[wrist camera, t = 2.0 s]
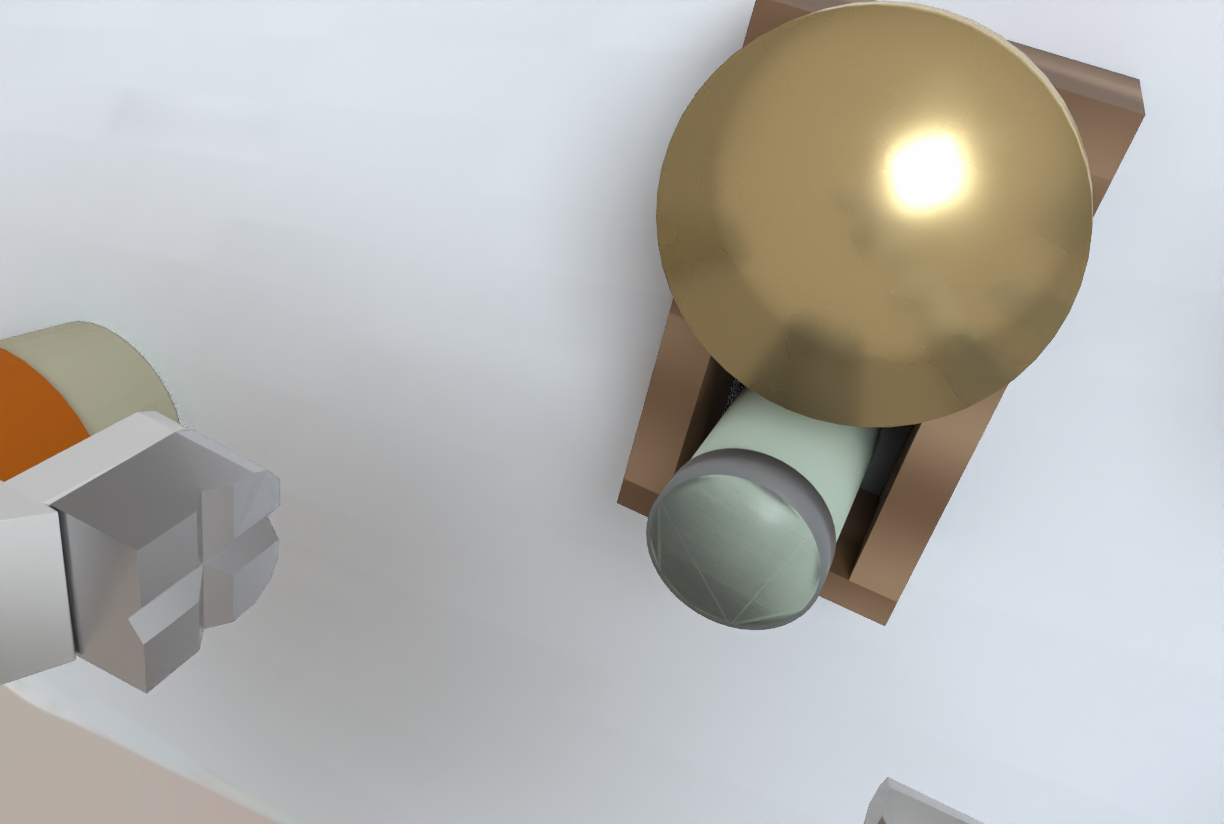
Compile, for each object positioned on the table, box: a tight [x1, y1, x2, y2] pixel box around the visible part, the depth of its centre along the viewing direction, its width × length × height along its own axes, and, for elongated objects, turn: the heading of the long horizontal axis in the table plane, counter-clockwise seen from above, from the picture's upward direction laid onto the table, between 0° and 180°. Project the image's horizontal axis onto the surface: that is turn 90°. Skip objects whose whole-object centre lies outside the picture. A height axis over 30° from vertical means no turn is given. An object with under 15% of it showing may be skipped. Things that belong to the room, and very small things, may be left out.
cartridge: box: [646, 386, 884, 630], centre depth 28 cm, size 5×5×10 cm
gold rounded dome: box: [656, 1, 1093, 427], centre depth 23 cm, size 9×9×6 cm
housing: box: [617, 0, 1145, 626], centre depth 28 cm, size 16×9×5 cm, turn 166°
